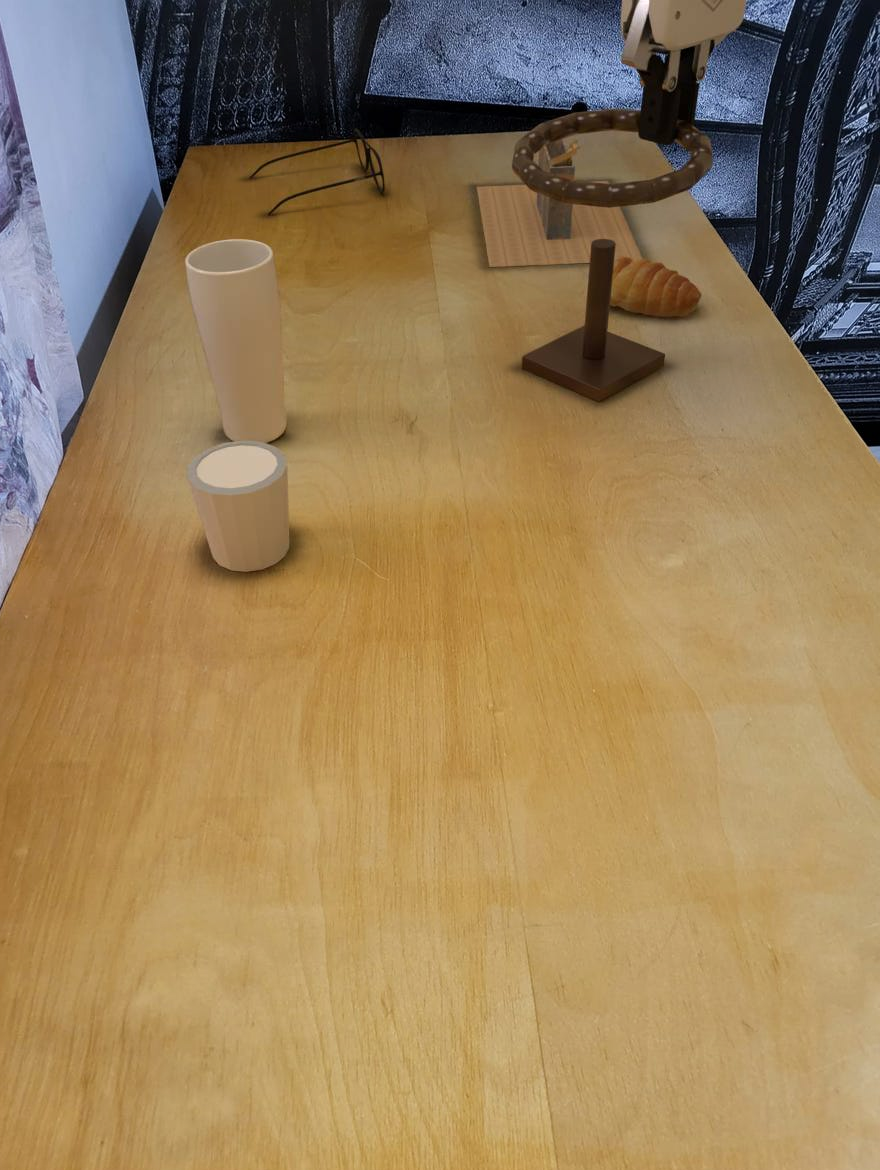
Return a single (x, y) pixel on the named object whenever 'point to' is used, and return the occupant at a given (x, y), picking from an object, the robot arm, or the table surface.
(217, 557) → the beige short cylinder
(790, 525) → the table surface
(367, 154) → the glasses
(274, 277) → the drinking glass
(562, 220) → the architectural model on board
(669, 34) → the robot arm
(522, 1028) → the table surface
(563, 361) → the post
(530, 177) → the ring
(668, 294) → the pastry
